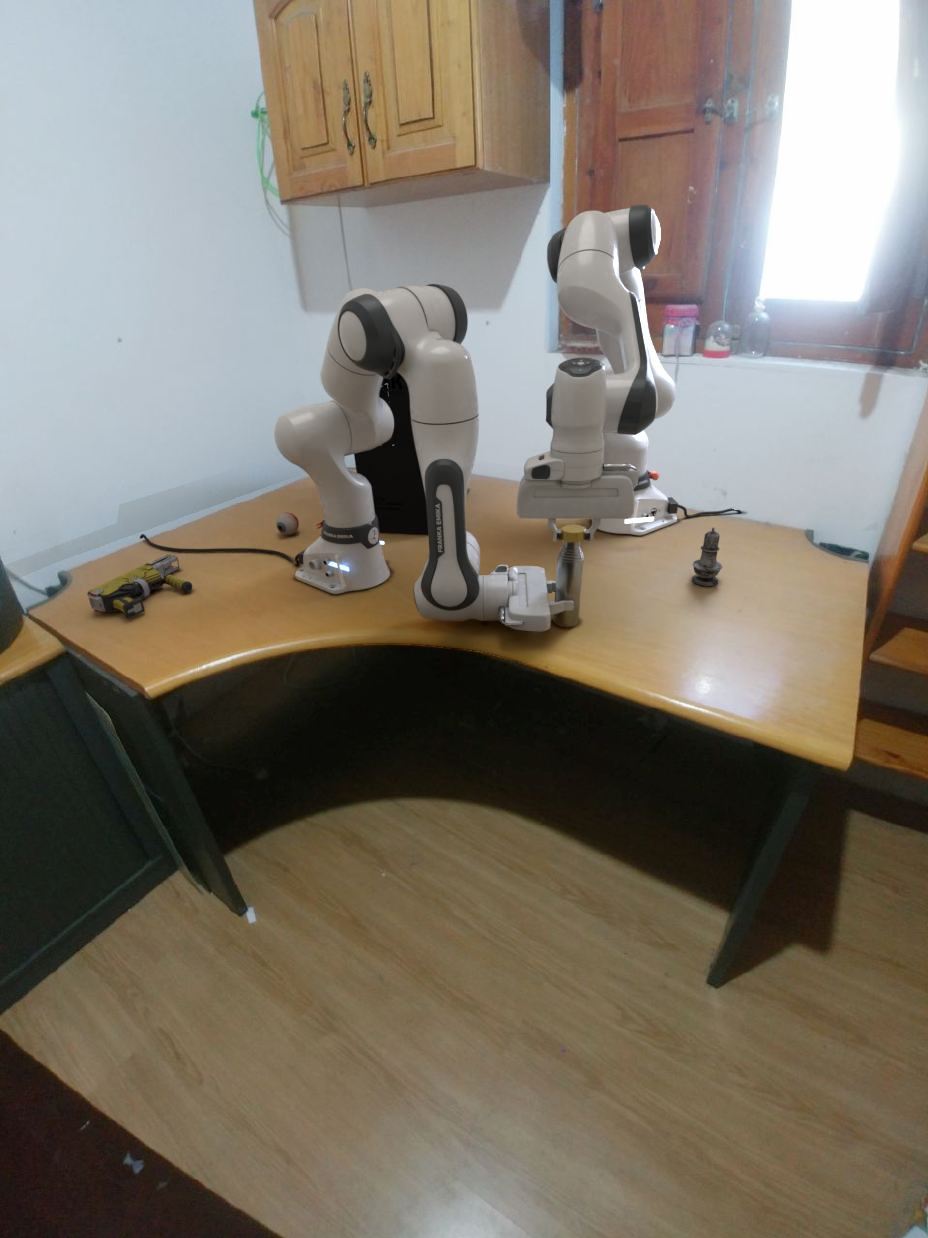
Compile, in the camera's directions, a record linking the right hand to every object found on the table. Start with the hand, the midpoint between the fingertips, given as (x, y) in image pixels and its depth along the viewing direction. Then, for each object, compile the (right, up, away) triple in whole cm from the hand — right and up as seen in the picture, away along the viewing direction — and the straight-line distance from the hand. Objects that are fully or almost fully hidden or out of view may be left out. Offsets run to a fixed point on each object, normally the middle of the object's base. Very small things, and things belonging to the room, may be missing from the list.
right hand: (572, 540), depth 109 cm
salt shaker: (+32, -6, +21) cm, 38 cm away
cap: (0, +2, -1) cm, 2 cm away
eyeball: (-68, +9, +57) cm, 89 cm away
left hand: (+1, -10, +6) cm, 12 cm away
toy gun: (-89, -9, +29) cm, 94 cm away
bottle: (0, -15, +9) cm, 17 cm away
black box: (-32, +18, +69) cm, 78 cm away
